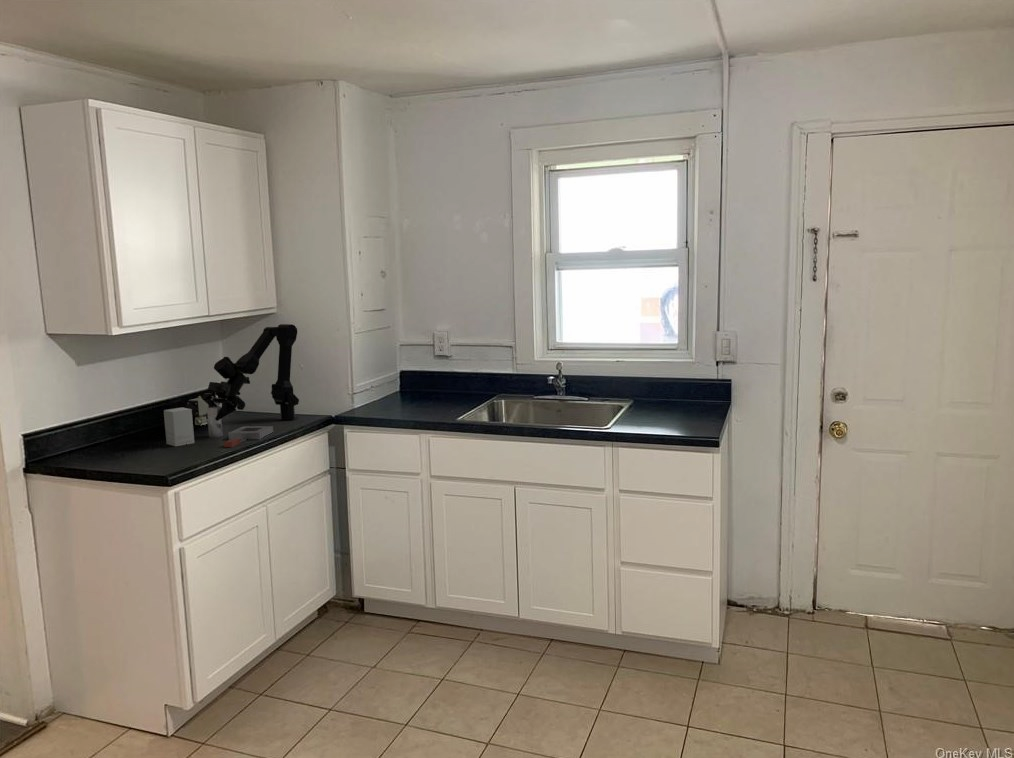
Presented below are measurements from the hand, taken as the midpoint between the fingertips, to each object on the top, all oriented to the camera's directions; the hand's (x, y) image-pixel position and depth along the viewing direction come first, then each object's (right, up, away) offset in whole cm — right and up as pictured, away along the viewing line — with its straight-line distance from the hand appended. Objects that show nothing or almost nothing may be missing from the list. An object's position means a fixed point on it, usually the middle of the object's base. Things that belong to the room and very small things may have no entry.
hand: (211, 419), depth 294 cm
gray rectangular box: (+14, -7, -6) cm, 17 cm away
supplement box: (-8, -8, -10) cm, 15 cm away
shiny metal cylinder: (+1, -6, +2) cm, 7 cm away
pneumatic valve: (-14, -4, +25) cm, 29 cm away
